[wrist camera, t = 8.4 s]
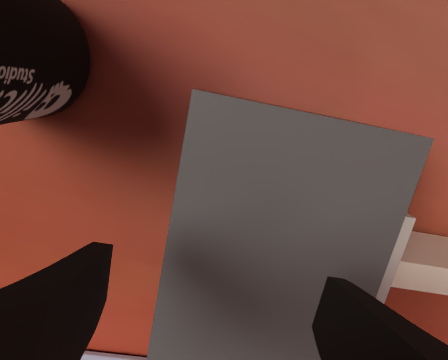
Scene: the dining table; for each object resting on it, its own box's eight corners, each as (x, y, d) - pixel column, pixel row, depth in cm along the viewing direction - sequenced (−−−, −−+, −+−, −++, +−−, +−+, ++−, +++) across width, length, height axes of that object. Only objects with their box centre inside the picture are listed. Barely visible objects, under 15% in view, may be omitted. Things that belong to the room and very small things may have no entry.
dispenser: (306, 315, 24) (348, 404, 17) (160, 295, 23) (142, 384, 16) (365, 123, 20) (447, 141, 14) (195, 88, 19) (192, 88, 12)
